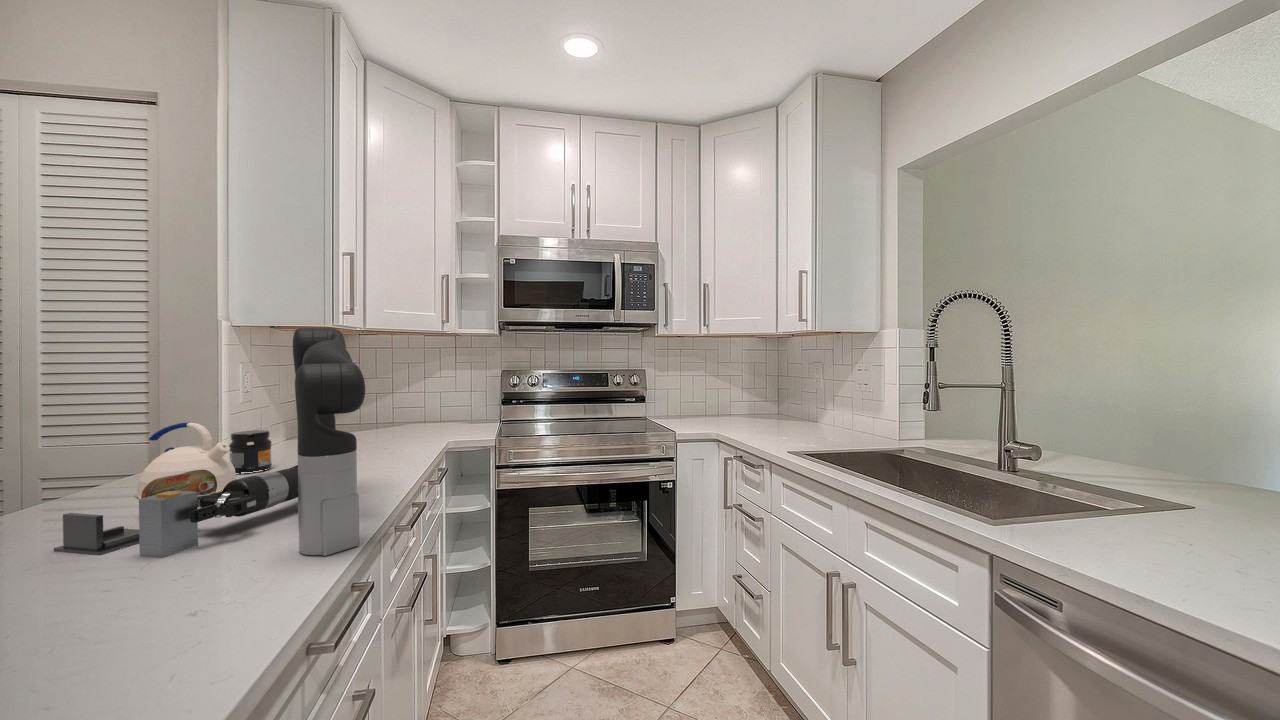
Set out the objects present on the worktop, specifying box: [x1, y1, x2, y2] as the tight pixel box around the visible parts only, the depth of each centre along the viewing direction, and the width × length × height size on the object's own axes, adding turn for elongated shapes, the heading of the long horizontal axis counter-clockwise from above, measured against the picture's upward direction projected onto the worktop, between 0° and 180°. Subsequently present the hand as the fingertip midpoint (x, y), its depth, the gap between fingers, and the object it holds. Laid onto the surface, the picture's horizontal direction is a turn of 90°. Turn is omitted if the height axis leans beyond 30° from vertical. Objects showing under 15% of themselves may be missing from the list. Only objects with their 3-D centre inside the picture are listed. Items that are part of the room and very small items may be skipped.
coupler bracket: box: [53, 512, 140, 556], centre depth 99 cm, size 11×11×6 cm
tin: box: [141, 470, 217, 498], centre depth 121 cm, size 15×3×8 cm, turn 168°
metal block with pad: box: [138, 491, 199, 559], centre depth 94 cm, size 6×5×10 cm
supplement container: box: [229, 429, 273, 473], centre depth 162 cm, size 10×10×12 cm
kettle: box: [136, 421, 237, 497], centre depth 139 cm, size 20×21×18 cm
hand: (173, 515), depth 95 cm, fingers open, 8 cm apart
